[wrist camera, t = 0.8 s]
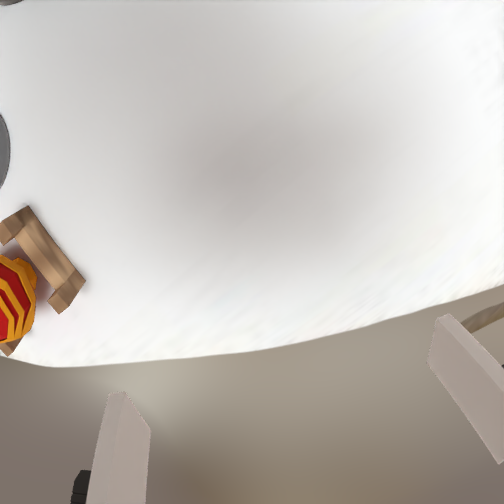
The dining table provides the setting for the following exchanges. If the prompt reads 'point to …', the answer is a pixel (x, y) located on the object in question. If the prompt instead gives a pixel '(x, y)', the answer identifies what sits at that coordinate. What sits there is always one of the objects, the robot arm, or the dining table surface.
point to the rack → (41, 261)
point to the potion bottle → (16, 298)
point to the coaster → (4, 151)
